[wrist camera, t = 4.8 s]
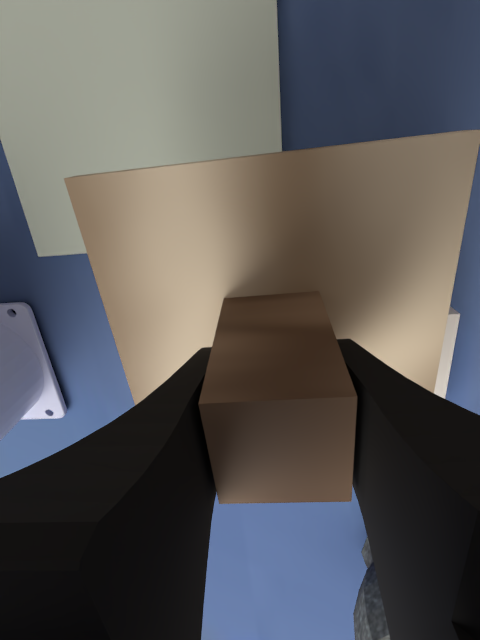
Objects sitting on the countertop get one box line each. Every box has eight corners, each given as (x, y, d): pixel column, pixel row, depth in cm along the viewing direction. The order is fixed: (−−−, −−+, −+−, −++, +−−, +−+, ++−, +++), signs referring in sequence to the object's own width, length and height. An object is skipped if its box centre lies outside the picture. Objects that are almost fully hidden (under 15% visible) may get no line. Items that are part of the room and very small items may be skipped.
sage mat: (42, 255, 19) (38, 256, 19) (-62, -73, 14) (-71, -79, 13) (284, 236, 18) (285, 238, 17) (271, -129, 13) (271, -137, 12)
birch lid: (156, 442, 16) (104, 593, 10) (76, 175, 10) (-101, 212, 5) (415, 432, 14) (500, 596, 9) (465, 130, 9) (710, 122, 4)
